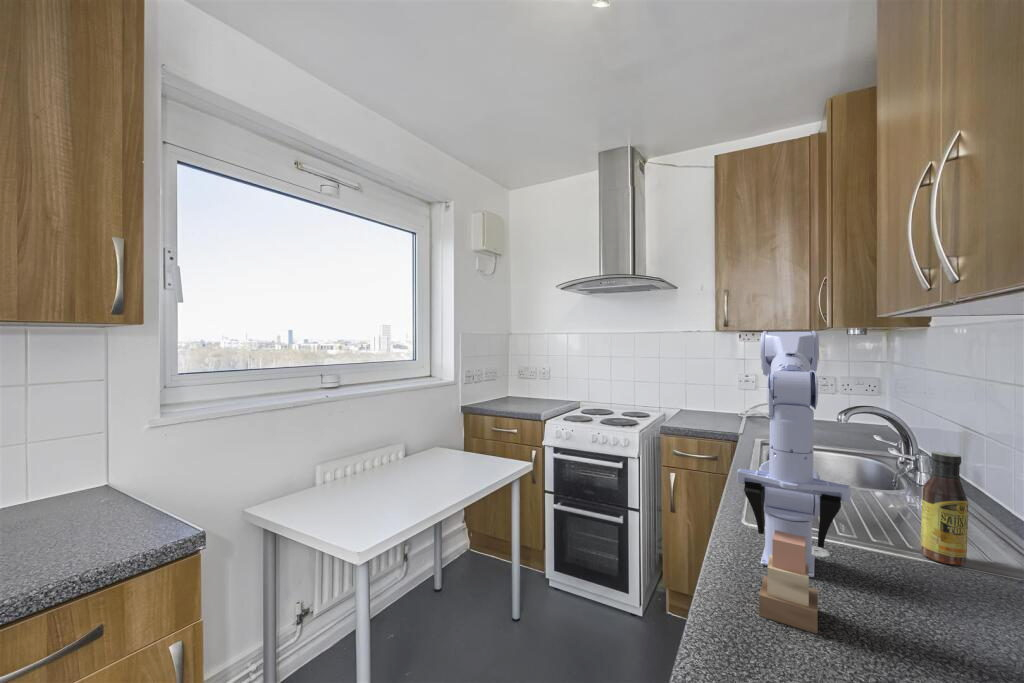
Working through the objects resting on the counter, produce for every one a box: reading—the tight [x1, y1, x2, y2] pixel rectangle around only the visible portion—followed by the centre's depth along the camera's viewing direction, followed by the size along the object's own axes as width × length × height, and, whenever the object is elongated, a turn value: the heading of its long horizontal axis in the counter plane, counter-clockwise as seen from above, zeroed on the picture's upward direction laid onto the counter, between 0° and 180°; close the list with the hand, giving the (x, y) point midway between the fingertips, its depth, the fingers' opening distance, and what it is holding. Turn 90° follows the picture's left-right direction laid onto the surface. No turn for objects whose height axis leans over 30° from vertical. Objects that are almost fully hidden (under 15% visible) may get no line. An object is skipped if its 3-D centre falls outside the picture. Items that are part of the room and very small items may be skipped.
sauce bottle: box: [919, 451, 969, 566], centre depth 83 cm, size 7×6×20 cm
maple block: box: [766, 555, 810, 607], centre depth 65 cm, size 5×5×4 cm
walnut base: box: [758, 575, 819, 635], centre depth 65 cm, size 7×7×3 cm
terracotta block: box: [772, 530, 806, 575], centre depth 65 cm, size 4×4×4 cm
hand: (790, 538), depth 68 cm, fingers open, 7 cm apart
